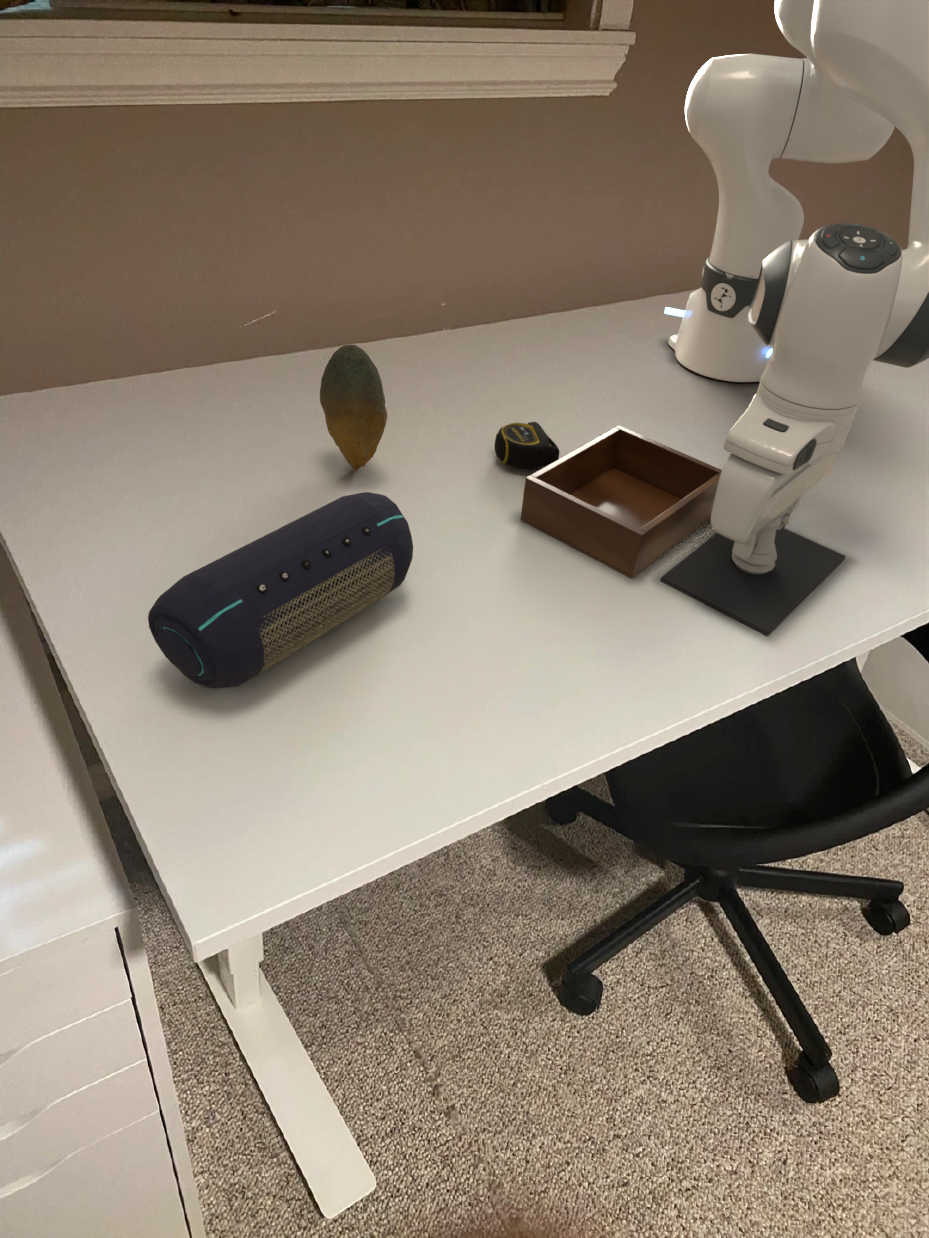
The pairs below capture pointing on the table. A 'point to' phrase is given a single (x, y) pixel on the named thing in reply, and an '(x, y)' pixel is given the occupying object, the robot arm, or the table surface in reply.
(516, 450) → the tape measure
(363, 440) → the green and yellow papaya
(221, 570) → the portable speaker
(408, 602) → the table surface
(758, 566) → the rook chess piece
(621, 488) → the open wooden box
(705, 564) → the mat
